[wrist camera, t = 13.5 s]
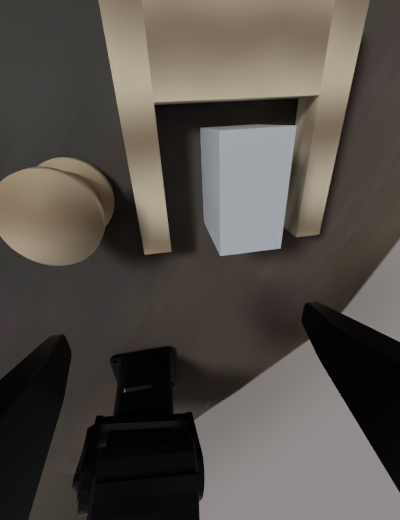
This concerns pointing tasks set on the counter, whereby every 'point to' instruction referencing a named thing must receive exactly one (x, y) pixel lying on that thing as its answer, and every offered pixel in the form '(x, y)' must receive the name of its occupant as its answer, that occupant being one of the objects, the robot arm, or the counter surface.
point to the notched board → (233, 84)
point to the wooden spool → (56, 210)
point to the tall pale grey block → (246, 185)
